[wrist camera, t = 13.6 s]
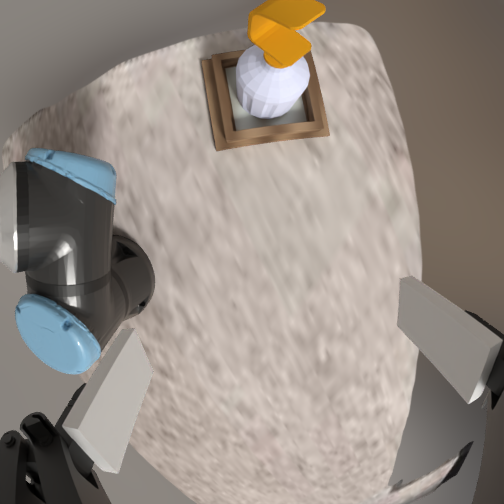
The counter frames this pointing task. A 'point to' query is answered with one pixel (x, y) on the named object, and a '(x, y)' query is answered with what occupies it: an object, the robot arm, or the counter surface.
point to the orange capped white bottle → (275, 57)
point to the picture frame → (253, 128)
